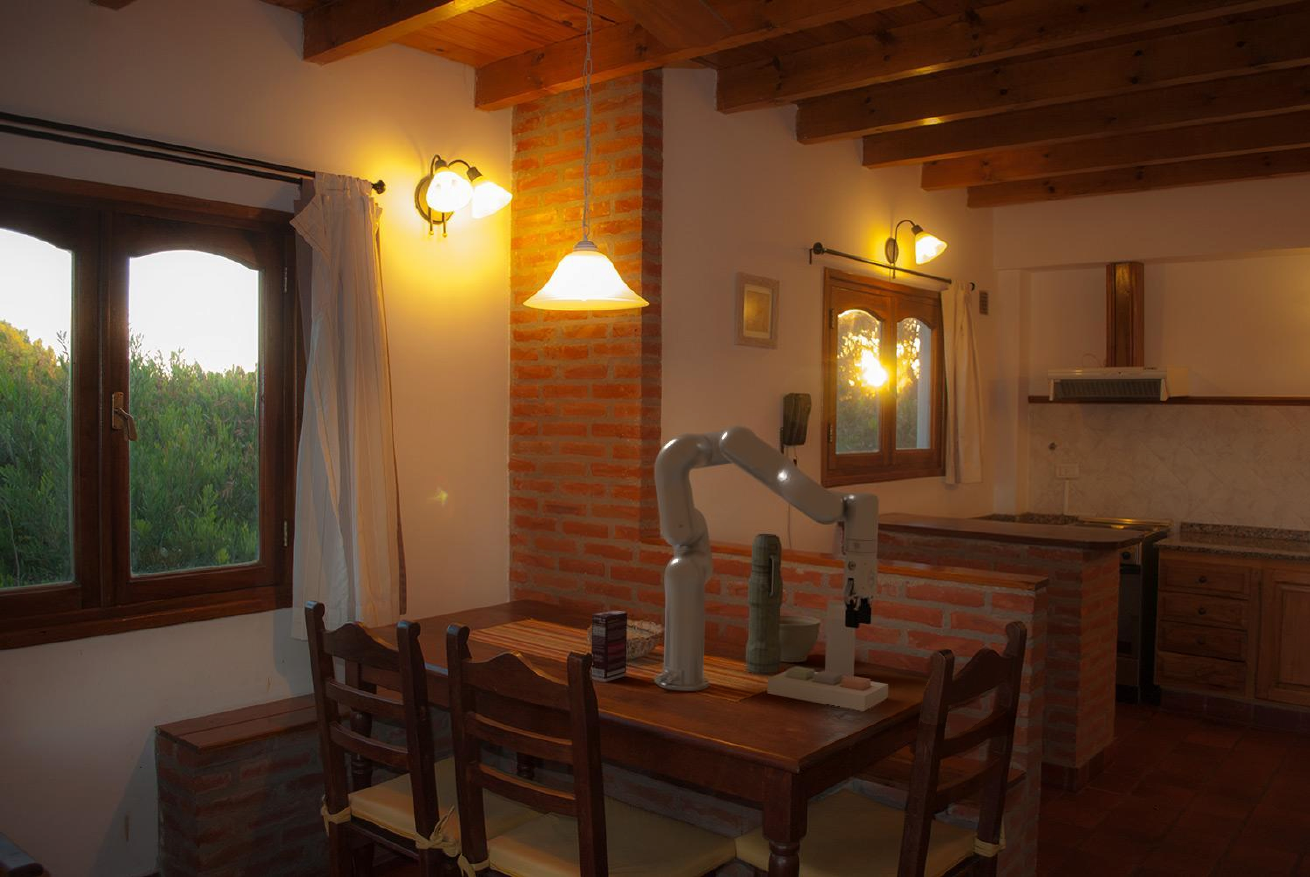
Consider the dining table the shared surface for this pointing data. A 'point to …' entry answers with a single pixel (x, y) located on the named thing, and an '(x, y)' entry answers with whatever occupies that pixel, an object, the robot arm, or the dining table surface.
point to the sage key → (800, 673)
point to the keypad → (827, 692)
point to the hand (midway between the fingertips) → (858, 624)
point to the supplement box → (609, 645)
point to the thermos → (764, 606)
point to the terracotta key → (856, 683)
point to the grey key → (827, 678)
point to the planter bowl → (797, 637)
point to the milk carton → (839, 641)
